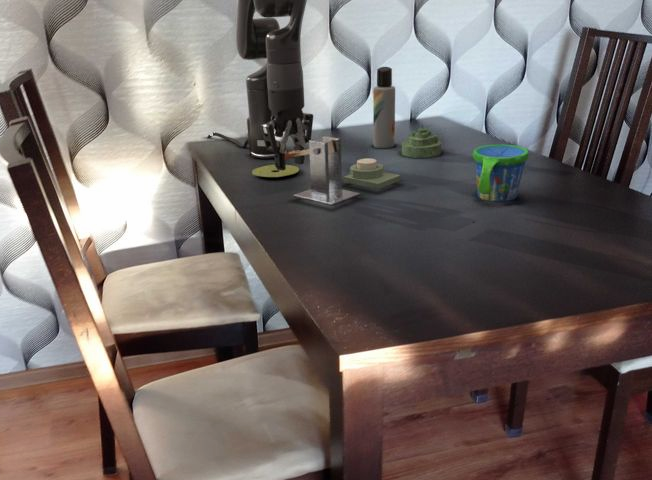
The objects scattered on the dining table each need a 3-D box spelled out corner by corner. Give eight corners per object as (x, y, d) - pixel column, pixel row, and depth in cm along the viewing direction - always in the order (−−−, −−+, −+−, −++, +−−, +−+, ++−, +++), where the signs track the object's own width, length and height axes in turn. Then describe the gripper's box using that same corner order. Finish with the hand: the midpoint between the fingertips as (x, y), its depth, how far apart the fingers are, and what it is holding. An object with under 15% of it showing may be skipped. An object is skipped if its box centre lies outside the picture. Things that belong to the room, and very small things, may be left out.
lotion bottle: (394, 143, 192) (395, 65, 182) (394, 148, 187) (395, 68, 177) (373, 143, 193) (373, 66, 183) (373, 148, 188) (373, 69, 178)
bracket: (294, 201, 151) (290, 140, 144) (322, 191, 156) (320, 132, 150) (332, 210, 144) (330, 147, 138) (360, 199, 149) (359, 138, 143)
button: (352, 169, 157) (352, 161, 156) (365, 165, 160) (365, 157, 159) (368, 172, 154) (368, 164, 154) (380, 167, 157) (380, 160, 156)
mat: (244, 177, 169) (243, 169, 168) (285, 169, 174) (284, 161, 173) (265, 187, 161) (265, 179, 160) (308, 178, 165) (307, 170, 164)
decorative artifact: (426, 146, 187) (394, 152, 184) (427, 119, 184) (394, 124, 180) (448, 154, 179) (415, 160, 175) (450, 125, 175) (416, 131, 172)
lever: (280, 163, 152) (278, 152, 151) (296, 158, 155) (294, 147, 154) (323, 156, 142) (320, 144, 142) (339, 150, 146) (336, 139, 145)
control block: (343, 186, 159) (342, 168, 157) (365, 178, 164) (365, 160, 162) (378, 193, 152) (378, 175, 150) (400, 184, 157) (400, 167, 155)
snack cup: (502, 215, 136) (507, 162, 131) (454, 206, 142) (457, 155, 137) (537, 194, 146) (542, 145, 141) (490, 187, 152) (494, 139, 147)
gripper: (296, 79, 152) (300, 157, 161) (247, 89, 144) (254, 171, 152) (322, 81, 148) (324, 162, 156) (273, 92, 139) (278, 177, 147)
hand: (290, 166), depth 154 cm, fingers closed on lever, 5 cm apart
